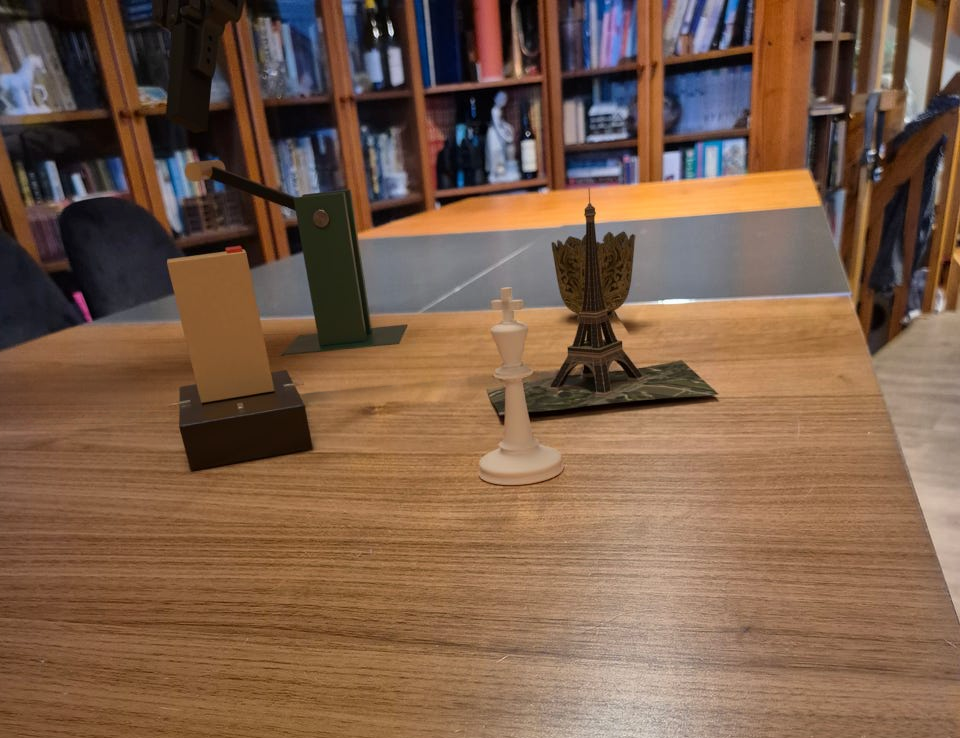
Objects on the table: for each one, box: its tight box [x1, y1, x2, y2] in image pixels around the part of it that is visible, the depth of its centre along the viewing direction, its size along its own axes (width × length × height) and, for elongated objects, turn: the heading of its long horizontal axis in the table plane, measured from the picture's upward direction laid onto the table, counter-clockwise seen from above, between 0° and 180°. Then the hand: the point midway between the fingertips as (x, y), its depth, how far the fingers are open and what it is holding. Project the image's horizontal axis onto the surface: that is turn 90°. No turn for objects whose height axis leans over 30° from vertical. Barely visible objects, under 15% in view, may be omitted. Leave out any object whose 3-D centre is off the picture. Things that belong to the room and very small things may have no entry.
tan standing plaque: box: [166, 245, 274, 403], centre depth 62 cm, size 5×2×9 cm, turn 106°
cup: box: [551, 230, 636, 322], centre depth 85 cm, size 8×7×8 cm
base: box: [168, 369, 314, 472], centre depth 65 cm, size 12×9×3 cm
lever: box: [184, 159, 296, 212], centre depth 83 cm, size 13×8×2 cm, turn 89°
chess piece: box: [478, 286, 565, 486], centre depth 51 cm, size 5×5×10 cm
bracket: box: [280, 188, 408, 357], centre depth 86 cm, size 11×9×14 cm
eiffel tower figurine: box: [486, 187, 720, 416], centre depth 63 cm, size 15×10×13 cm
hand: (186, 123), depth 70 cm, fingers closed
